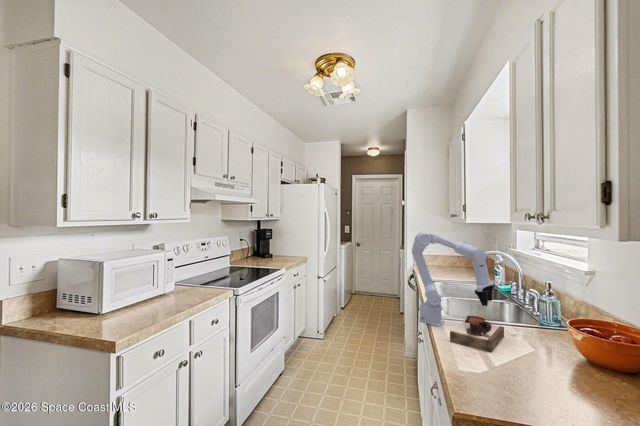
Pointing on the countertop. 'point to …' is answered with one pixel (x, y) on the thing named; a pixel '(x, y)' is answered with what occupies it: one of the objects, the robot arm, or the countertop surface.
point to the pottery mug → (477, 325)
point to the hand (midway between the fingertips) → (487, 303)
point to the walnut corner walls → (478, 340)
